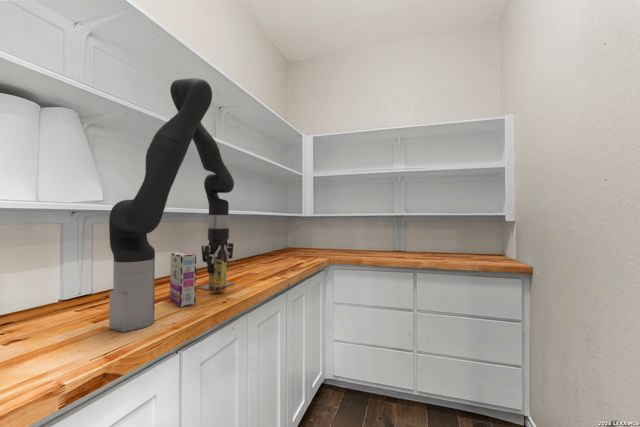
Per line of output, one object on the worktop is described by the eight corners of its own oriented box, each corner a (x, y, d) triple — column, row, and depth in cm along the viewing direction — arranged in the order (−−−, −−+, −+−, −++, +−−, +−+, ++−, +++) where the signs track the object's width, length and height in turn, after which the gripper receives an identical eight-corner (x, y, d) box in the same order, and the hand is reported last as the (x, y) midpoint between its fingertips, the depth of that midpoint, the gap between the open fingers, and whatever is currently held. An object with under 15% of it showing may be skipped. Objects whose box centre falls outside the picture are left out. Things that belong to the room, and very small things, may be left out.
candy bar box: (196, 304, 93) (197, 254, 93) (180, 308, 90) (180, 255, 90) (184, 297, 101) (185, 251, 101) (169, 300, 98) (169, 252, 98)
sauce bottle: (204, 291, 105) (205, 237, 105) (215, 287, 111) (216, 235, 111) (220, 292, 103) (220, 237, 103) (230, 288, 109) (230, 236, 109)
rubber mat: (212, 291, 110) (212, 289, 110) (197, 288, 113) (197, 287, 113) (234, 284, 121) (234, 283, 121) (220, 282, 124) (220, 281, 124)
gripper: (211, 228, 99) (210, 276, 99) (239, 227, 112) (239, 269, 112) (195, 227, 102) (195, 274, 102) (224, 226, 115) (224, 268, 115)
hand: (218, 271), depth 107 cm, fingers closed on sauce bottle, 6 cm apart
